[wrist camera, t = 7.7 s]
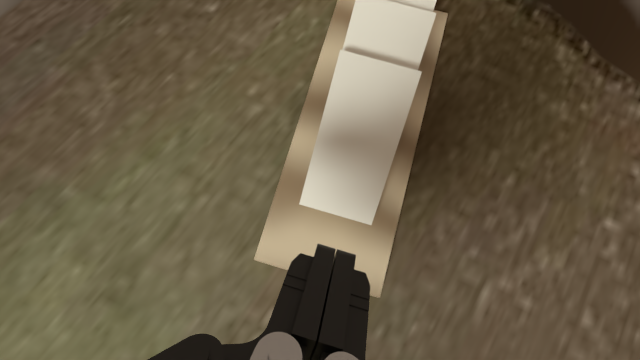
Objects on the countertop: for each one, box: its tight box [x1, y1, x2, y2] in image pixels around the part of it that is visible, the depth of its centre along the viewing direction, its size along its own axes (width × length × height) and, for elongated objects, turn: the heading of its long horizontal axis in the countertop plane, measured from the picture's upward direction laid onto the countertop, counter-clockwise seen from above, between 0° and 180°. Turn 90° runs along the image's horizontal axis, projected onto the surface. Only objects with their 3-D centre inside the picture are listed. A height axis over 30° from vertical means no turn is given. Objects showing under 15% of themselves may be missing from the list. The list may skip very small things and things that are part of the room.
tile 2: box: [342, 0, 436, 70], centre depth 21 cm, size 2×5×10 cm
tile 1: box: [299, 50, 422, 225], centre depth 20 cm, size 2×5×10 cm
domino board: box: [254, 0, 448, 298], centre depth 24 cm, size 23×9×1 cm, turn 164°
